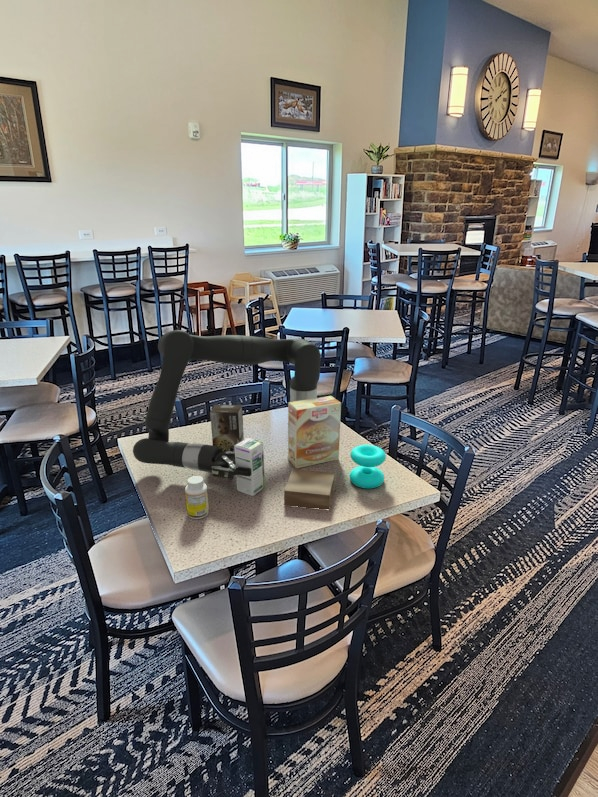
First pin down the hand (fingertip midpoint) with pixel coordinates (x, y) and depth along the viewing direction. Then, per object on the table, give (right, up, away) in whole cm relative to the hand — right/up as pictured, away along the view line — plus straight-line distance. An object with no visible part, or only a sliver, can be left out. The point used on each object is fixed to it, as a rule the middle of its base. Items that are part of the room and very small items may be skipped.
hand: (256, 464), depth 136 cm
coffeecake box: (+16, -1, +20) cm, 26 cm away
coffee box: (-11, 0, +23) cm, 25 cm away
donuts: (+31, -6, +8) cm, 33 cm away
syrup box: (-2, -8, +3) cm, 8 cm away
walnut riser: (+15, -9, 0) cm, 17 cm away
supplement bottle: (-14, -12, -8) cm, 20 cm away
